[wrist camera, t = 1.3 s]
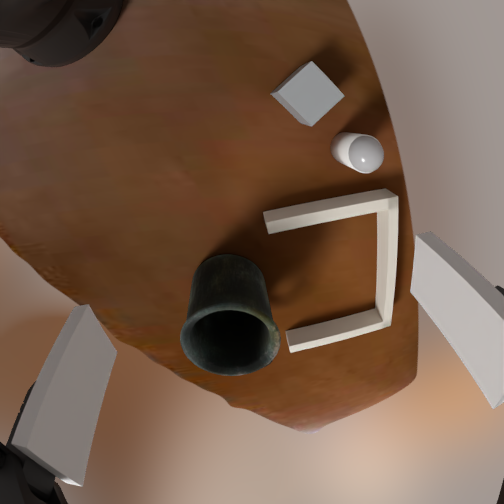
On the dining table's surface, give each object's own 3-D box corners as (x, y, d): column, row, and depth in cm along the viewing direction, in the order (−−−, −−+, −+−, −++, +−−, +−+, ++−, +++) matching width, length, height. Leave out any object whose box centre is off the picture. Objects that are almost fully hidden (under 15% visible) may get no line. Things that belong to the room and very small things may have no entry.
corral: (262, 211, 38) (266, 222, 35) (385, 188, 37) (398, 196, 34) (286, 337, 48) (290, 352, 45) (382, 312, 48) (390, 325, 45)
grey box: (300, 66, 30) (311, 60, 25) (329, 96, 31) (344, 95, 27) (270, 93, 31) (277, 91, 27) (300, 123, 33) (311, 126, 29)
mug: (238, 233, 39) (244, 286, 28) (292, 306, 45) (310, 365, 35) (173, 274, 41) (159, 334, 30) (233, 338, 47) (236, 398, 37)
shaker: (329, 132, 34) (352, 135, 25) (360, 132, 33) (390, 136, 25) (330, 164, 35) (353, 176, 27) (361, 163, 35) (390, 176, 27)
